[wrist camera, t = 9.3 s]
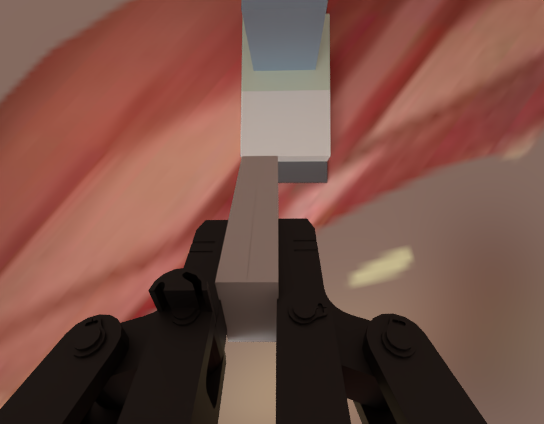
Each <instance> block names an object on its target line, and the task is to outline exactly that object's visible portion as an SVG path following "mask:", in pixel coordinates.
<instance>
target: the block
mask: <svg viewBox="0 0 544 424" xmlns="http://www.w3.org/2000/svg"><path fill="white" fill-rule="evenodd" d="M326 9H327V0H242V6H241V10H242V15H243V20H244V25H245V30H246V35H247V40H248V45H249V50H250V55H251V60H252V65H253V70H254V71H282V70H315V69H316V64H317V58H318V53H319V47H320V42H321V37H322V31H323V26H324V20H325V15H326Z"/></svg>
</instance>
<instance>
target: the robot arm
mask: <svg viewBox="0 0 544 424" xmlns="http://www.w3.org/2000/svg"><path fill="white" fill-rule="evenodd" d="M149 293H150V295H151V297H152V299H153V301H154V304H155V306H156V308H157V311H155V312H154V313H151V314H149V315H146V316H143V317H139V318H136V319H133V320H129V321H126V322H122V323H120V322H119V320H118V319H117V318H115V317H113V316H111V315H96V316H93V317H89V318H87V319H85V320H83V321H82V322H80V323H78V324H76V325H75V326H74V327H73V328H72V329H71V330H70V331H69V332H67V333H66V334H65V335H64V337H63V338H62V339H61V340H60V341H59V342H58V343H57V345H56V346H55V347H54V348H53V349H52V350H51V352H50V353H49V354H48V355H47V356H46V357H45V358H44V360H43V361H42V362H41V363H40V364H39V365H38V366H37V368H36V369H35V370H34V371H33V372H32V373H31V374H30V376H29V377H28V378H27V379H26V380H25V381H24V383H23V384H22V385H21V386H20V387H19V388H18V389H17V391H16V392H15V393H14V394H13V395H12V396H11V397H10V399H9V400H8V401H7V402H6V403H5V404H4V406H3V407H2V408H1V409H0V424H218V417H219V410H220V403H221V395H222V388H223V381H224V374H225V366H226V355H225V351H224V348H225V342H226V335H227V338H228V341H229V342H276V424H351V421H350V415H349V409H348V403H347V398H348V399H351V400H353V402H354V404H355V407H356V409H357V412H358V414H359V417H360V419H361V422H362V424H487V423H486V421H485V420H484V418H483V417H482V415H481V414H480V413H479V411H478V410H477V408H476V407H475V405H474V404H473V402H472V401H471V400H470V398H469V397H468V395H467V394H466V392H465V391H464V389H463V388H462V386H461V385H460V384H459V382H458V381H457V379H456V378H455V376H454V375H453V373H452V372H451V371H450V369H449V368H448V366H447V365H446V363H445V362H444V360H443V359H442V358H441V356H440V355H439V353H438V352H437V350H436V349H435V347H434V346H433V345H432V343H431V342H430V340H429V339H428V337H427V336H426V334H425V333H424V332H423V331H422V330H421V329H420V328H419V327H418V326H417V325H416V324H415V323H414V322H412V321H410V320H409V319H407V318H405V317H403V316H399V315H396V314H381V315H379V316H377V317H375V318H373V320H372V321H369V320H366V319H363V318H360V317H356V316H353V315H350V314H348V313H345V312H343V311H341V310H340V309H338V308H337V307H335V306H334V305H333V304H332V303H331V302H330V300H329V299H328V297H327V295H326V293H325V290H324V285H323V278H322V272H321V266H320V260H319V253H318V247H317V242H316V234H315V228H314V227H313V226H312V224H311V223H310V222H309V221H308V219H278V156H242V159H241V164H240V168H239V173H238V178H237V182H236V187H235V192H234V196H233V201H232V206H231V210H230V215H229V220H206V221H205V222H204V223H203V224H202V225H201V226H200V227H199V228H198V229H197V230H196V233H195V236H194V239H193V244H192V245H191V248H190V251H189V254H188V256H187V259H186V262H185V265H184V268H181V269H174V270H172V271H170V272H167V273H165V274H163V275H162V276H161V277H160V278H158V279H157V280H156V281H155V282H154V283H153V285H152V286H151V288H150V289H149Z"/></svg>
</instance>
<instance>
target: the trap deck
mask: <svg viewBox="0 0 544 424" xmlns="http://www.w3.org/2000/svg"><path fill="white" fill-rule="evenodd" d="M327 4H328V0H327ZM240 156H241V158H242V156H278V183H327V161H328V159H329V157H330V14H326V15H325V20H324V26H323V31H322V37H321V42H320V47H319V53H318V58H317V64H316V69H315V70H282V71H254V70H253V65H252V60H251V55H250V50H249V45H248V40H247V35H246V30H245V25H244V20H243V24H242V89H241V154H240Z"/></svg>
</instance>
